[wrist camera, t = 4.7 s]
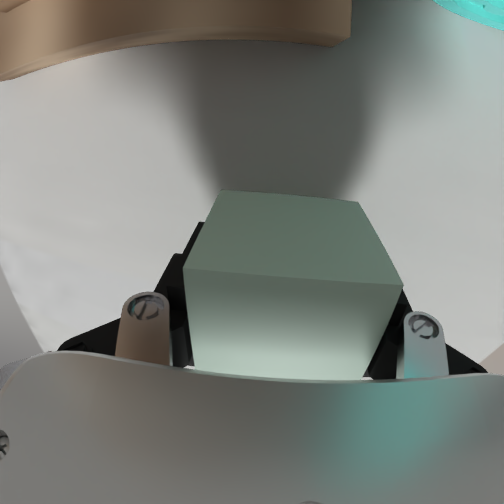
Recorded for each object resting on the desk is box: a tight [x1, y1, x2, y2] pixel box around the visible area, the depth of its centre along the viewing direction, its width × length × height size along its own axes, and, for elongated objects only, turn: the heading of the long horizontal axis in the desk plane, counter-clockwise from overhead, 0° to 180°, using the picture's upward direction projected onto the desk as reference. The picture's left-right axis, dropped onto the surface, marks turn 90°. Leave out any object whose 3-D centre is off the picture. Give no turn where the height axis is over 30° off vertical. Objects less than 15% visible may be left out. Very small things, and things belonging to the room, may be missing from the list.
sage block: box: [183, 190, 404, 380], centre depth 10 cm, size 5×5×5 cm
